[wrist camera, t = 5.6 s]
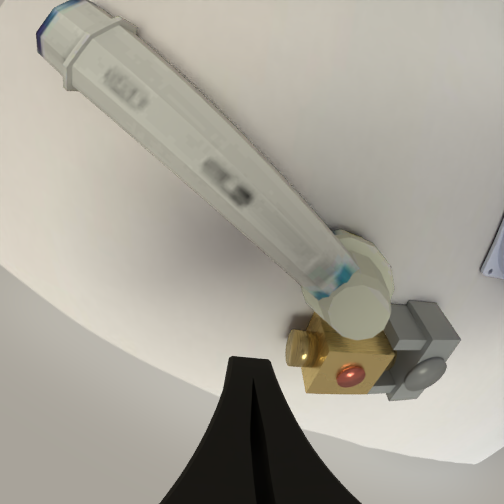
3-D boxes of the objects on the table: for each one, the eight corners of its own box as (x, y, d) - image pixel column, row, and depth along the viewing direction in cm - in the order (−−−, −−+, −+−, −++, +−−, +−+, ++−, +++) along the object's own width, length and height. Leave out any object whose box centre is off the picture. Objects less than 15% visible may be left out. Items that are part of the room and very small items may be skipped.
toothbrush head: (74, -24, 8) (433, 329, 14) (130, 9, 14) (396, 271, 20) (13, 62, 10) (355, 383, 16) (80, 69, 16) (338, 316, 22)
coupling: (438, 303, 22) (465, 343, 18) (402, 361, 26) (420, 401, 22) (383, 297, 22) (407, 343, 18) (349, 361, 25) (363, 406, 21)
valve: (390, 315, 23) (413, 358, 19) (367, 353, 25) (384, 396, 21) (296, 303, 22) (307, 353, 18) (279, 346, 24) (285, 395, 20)
